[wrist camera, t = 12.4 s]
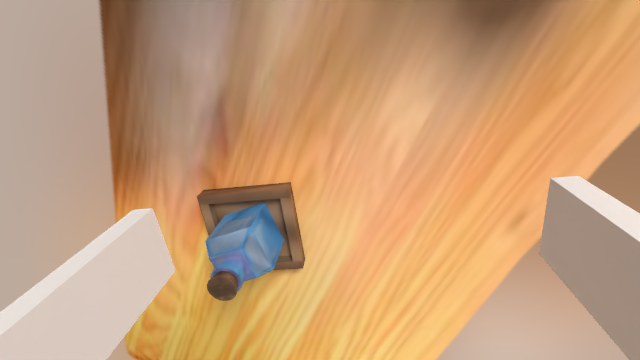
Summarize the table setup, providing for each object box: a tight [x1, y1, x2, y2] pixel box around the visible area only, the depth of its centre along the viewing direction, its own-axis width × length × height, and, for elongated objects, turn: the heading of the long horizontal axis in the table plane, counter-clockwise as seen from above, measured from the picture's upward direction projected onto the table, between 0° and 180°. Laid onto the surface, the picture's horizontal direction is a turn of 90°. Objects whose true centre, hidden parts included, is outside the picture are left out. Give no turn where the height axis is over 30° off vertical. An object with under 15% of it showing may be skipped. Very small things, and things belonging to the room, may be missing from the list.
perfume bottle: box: [206, 202, 284, 301], centre depth 39 cm, size 6×6×12 cm
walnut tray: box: [197, 182, 305, 270], centre depth 44 cm, size 12×12×2 cm
